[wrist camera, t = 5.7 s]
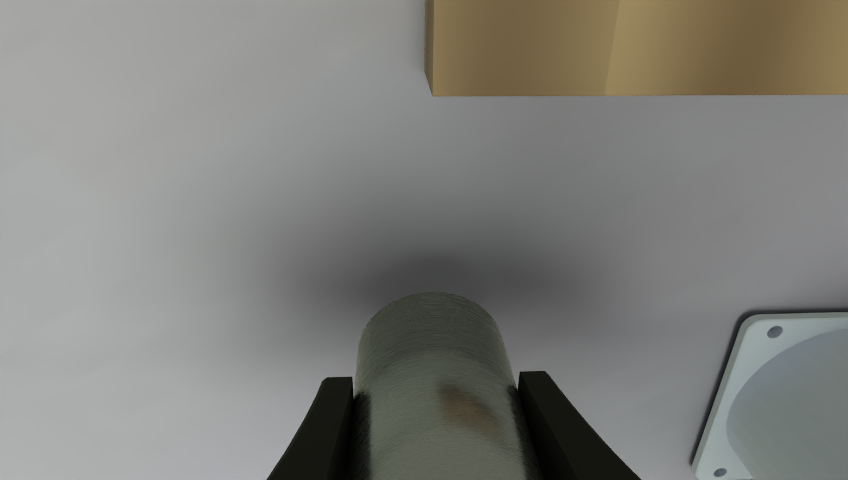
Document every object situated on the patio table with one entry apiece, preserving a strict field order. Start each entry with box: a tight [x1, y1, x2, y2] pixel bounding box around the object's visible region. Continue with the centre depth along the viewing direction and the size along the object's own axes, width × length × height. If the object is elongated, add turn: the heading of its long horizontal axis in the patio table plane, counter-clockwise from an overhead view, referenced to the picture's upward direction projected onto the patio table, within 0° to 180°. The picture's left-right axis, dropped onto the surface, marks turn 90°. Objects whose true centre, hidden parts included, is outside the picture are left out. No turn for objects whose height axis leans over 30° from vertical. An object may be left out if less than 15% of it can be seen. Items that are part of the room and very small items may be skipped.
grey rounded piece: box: [346, 292, 544, 480], centre depth 11 cm, size 4×4×7 cm
